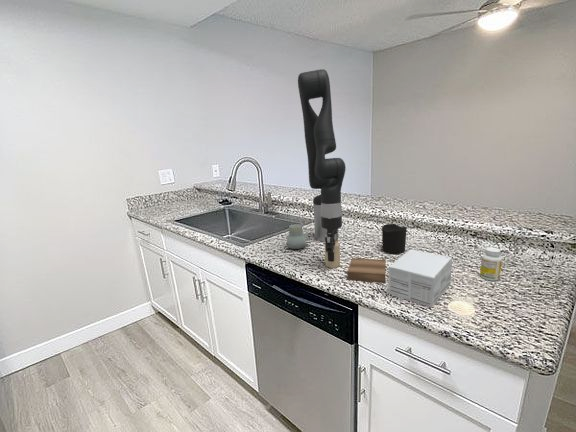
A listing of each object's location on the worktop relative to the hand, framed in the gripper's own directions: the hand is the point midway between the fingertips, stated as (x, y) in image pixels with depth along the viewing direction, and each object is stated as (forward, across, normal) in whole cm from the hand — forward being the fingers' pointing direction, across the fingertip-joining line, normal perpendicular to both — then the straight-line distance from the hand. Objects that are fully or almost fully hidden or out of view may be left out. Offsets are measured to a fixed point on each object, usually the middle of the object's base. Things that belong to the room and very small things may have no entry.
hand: (332, 257), depth 114 cm
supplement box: (+3, +13, +29) cm, 32 cm away
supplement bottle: (+3, +1, +51) cm, 51 cm away
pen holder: (+3, -19, +22) cm, 29 cm away
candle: (+3, 0, 0) cm, 3 cm away
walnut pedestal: (+3, +5, +13) cm, 14 cm away
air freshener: (+3, -17, -19) cm, 26 cm away
